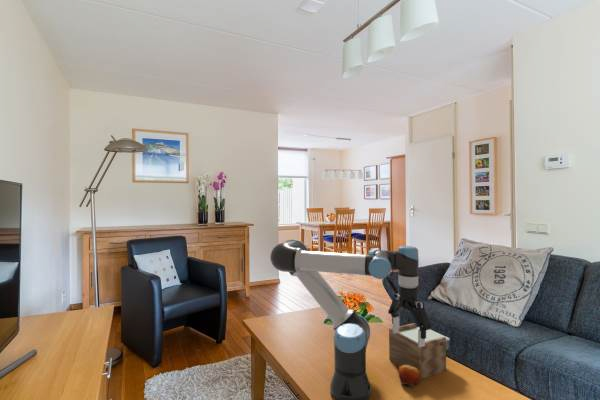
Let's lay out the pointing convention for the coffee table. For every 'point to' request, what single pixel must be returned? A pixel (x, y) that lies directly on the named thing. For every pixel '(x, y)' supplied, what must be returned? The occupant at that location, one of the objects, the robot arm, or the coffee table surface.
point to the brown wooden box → (417, 352)
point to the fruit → (409, 375)
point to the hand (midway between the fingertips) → (408, 339)
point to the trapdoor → (429, 335)
